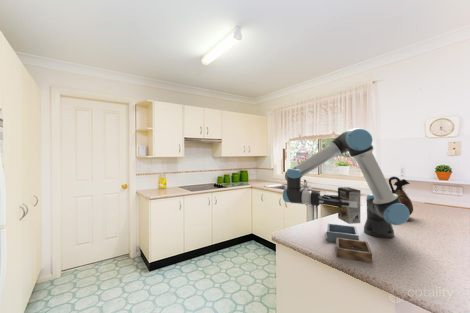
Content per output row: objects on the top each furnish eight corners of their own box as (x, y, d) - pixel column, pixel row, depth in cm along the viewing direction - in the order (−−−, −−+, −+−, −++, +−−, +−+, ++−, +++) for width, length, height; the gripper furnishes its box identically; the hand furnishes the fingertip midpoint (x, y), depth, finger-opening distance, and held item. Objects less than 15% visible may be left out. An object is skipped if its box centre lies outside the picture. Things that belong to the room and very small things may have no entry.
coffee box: (337, 218, 111) (337, 187, 111) (349, 217, 112) (348, 186, 112) (348, 224, 102) (348, 190, 102) (361, 223, 103) (360, 189, 103)
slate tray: (355, 235, 125) (355, 226, 125) (358, 245, 112) (358, 235, 112) (327, 231, 132) (327, 223, 132) (327, 240, 118) (327, 231, 118)
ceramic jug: (411, 216, 160) (411, 176, 160) (414, 222, 147) (414, 178, 147) (383, 213, 169) (383, 175, 169) (384, 218, 156) (384, 177, 156)
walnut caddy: (367, 249, 106) (367, 241, 106) (372, 262, 94) (372, 253, 93) (336, 245, 112) (336, 237, 112) (336, 257, 99) (336, 248, 99)
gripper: (316, 200, 127) (359, 205, 114) (305, 209, 107) (356, 215, 95) (316, 188, 126) (359, 191, 114) (305, 194, 107) (356, 199, 95)
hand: (358, 202), depth 105 cm, fingers closed on coffee box, 10 cm apart
